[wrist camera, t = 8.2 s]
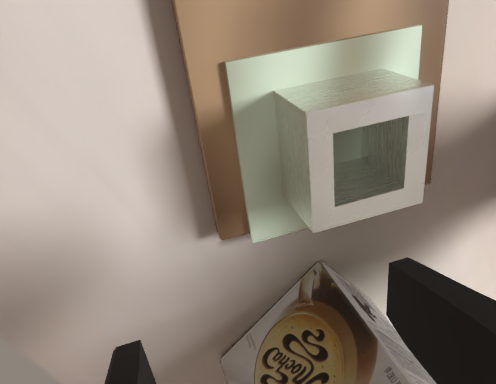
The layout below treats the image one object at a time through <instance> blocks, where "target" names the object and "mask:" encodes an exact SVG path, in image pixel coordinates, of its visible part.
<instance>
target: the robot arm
mask: <svg viewBox="0 0 496 384" xmlns="http://www.w3.org/2000/svg"><path fill="white" fill-rule="evenodd" d="M386 315H387V316H388V318H389V320H390V321H391V323H392V324H393V326H394V328H395V329H396V331H397V333H398V334H399V336H400V337H401V339H402V340H403V342H404V343H405V345H406V346H407V348H408V349H409V350H410V351H411V353H412V354H413V355H414V356H415V358H416V359H417V360H418V361H419V363H420V364H421V365H422V366H423V368H424V369H425V370H426V371H427V372H428V374H429V375H430V376H431V377H432V379H433V380H434V381H435V382H436V384H496V301H495V300H493V299H491V298H489V297H487V296H485V295H483V294H481V293H478V292H476V291H474V290H472V289H470V288H468V287H466V286H464V285H462V284H460V283H458V282H456V281H454V280H452V279H450V278H448V277H446V276H444V275H442V274H440V273H438V272H436V271H434V270H432V269H431V268H429V267H427V266H425V265H423V264H421V263H418V262H416V261H414V260H412V259H410V258H408V257H407V258H404V259H401V260H398V261H394V262H391V263H389V274H388V293H387V312H386ZM105 384H156V382H155V379H154V376H153V373H152V371H151V368H150V365H149V362H148V360H147V357H146V354H145V352H144V349H143V346H142V343H141V341H140V340H138V341H135V342H131V343H128V344H125V345H122V346H118V347H116V348H115V350H114V351H113V354H112V358H111V362H110V366H109V370H108V374H107V377H106V380H105Z"/></svg>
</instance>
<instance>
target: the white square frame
mask: <svg viewBox="0 0 496 384" xmlns="http://www.w3.org/2000/svg"><path fill="white" fill-rule="evenodd" d="M433 92H434V85H433V84H430V83H427V82H424V81H421V80H418V79H414V78H411V77H408V76H405V75H402V74H399V73H396V72H392V71H389V70H386V69H383V68H381V69H376V70H371V71H366V72H362V73H357V74H352V75H347V76H342V77H337V78H332V79H328V80H323V81H318V82H313V83H308V84H303V85H298V86H294V87H289V88H284V89H279V90H274V101H275V112H276V122H277V133H278V143H279V154H280V165H281V175H282V186H283V196H284V197H285V198H286V200H287V201H288V202H289V203H290V205H291V206H292V207H293V209H294V210H295V211H296V212H297V214H298V215H299V216H300V217H301V219H302V220H303V221H304V222H305V224H306V225H307V226H308V228H309V229H310V230H311V231H312V233H317V232H320V231H324V230H327V229H331V228H334V227H338V226H342V225H345V224H349V223H352V222H356V221H359V220H363V219H367V218H370V217H374V216H377V215H381V214H384V213H388V212H391V211H395V210H399V209H402V208H406V207H409V206H413V205H416V204H420V203H423V195H424V184H425V174H426V164H427V154H428V143H429V133H430V123H431V112H432V102H433ZM358 127H362V139H361V158H359V159H355V160H351V161H347V162H343V163H339V164H335V165H334V159H333V133H337V132H341V131H345V130H350V129H354V128H358Z"/></svg>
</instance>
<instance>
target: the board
mask: <svg viewBox="0 0 496 384" xmlns="http://www.w3.org/2000/svg"><path fill="white" fill-rule="evenodd" d="M172 4H173V9H174V14H175V20H176V25H177V30H178V35H179V40H180V45H181V50H182V55H183V60H184V65H185V70H186V75H187V80H188V85H189V91H190V96H191V101H192V106H193V111H194V116H195V121H196V126H197V131H198V136H199V141H200V146H201V151H202V156H203V162H204V167H205V172H206V177H207V182H208V187H209V192H210V197H211V202H212V207H213V212H214V217H215V222H216V227H217V231H218V234H219V236H220V238H221V240H224V239H228V238H232V237H235V236H239V235H243V234H246V233H250V237H251V241H252V243H257V242H261V241H264V240H268V239H271V238H275V237H279V236H282V235H286V234H289V233H293V232H297V231H300V230H304V229H307V228H308V226H307V225H306V224H305V222H304V221H303V220H302V219H301V217H300V216H299V215H298V214H297V212H296V211H295V210H294V209H293V207H292V206H291V205H290V203H289V202H288V201H287V200H286V198H285V197H284V196H283V186H282V175H281V165H280V154H279V143H278V133H277V122H276V112H275V101H274V90H279V89H284V88H289V87H294V86H298V85H303V84H308V83H313V82H318V81H323V80H328V79H332V78H337V77H342V76H347V75H352V74H357V73H362V72H366V71H371V70H376V69H381V68H383V69H386V70H389V71H392V72H396V73H399V74H402V75H405V76H408V77H411V78H414V79H418V80H421V81H424V82H427V83H430V84H433V85H434V92H433V102H432V112H431V123H430V133H429V143H428V154H427V164H426V174H425V184H424V185H426V184H429V183H430V180H431V170H432V160H433V150H434V141H435V131H436V121H437V111H438V102H439V92H440V82H441V73H442V63H443V53H444V43H445V34H446V24H447V14H448V4H449V0H172ZM361 139H362V127H358V128H354V129H350V130H345V131H341V132H337V133H333V159H334V165H335V164H339V163H343V162H347V161H351V160H355V159H359V158H361Z"/></svg>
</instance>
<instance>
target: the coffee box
mask: <svg viewBox="0 0 496 384" xmlns="http://www.w3.org/2000/svg"><path fill="white" fill-rule="evenodd" d="M220 362H221V365H222V369H223V372H224V375H225V378H226V382H227V384H436V382H435V381H434V380H433V379H432V377H431V376H430V375H429V374H428V372H427V371H426V370H425V369H424V368H423V366H422V365H421V364H420V363H419V361H418V360H417V359H416V358H415V356H414V355H413V354H412V353H411V351H410V350H409V349H408V348H407V346H406V345H405V343H404V342H403V340H402V339H401V337H400V336H399V334H398V333H397V331H396V330H395V329H394V327H393V326H392V325H391V324H390V322H389V321H388V320H387V319H386V317H385V316H384V315H383V314H382V312H381V311H380V310H379V309H378V308H377V306H376V305H375V304H374V303H373V302H372V301H371V300H370V299H369V298H368V297H366V296H365V295H364V294H362V293H361V292H360V291H359V290H358V289H356V288H355V287H354V286H353V285H351V284H350V283H349V282H348V281H346V280H345V279H344V278H343V277H341V276H340V275H339V274H338V273H336V272H335V271H334V270H332V269H331V268H330V267H329V266H327V265H326V264H325V263H324V262H317V263H316V264H315V265H314V266H313V267H312V268H311V269H310V270H309V271H308V272H307V273H306V274H305V275H304V276H303V277H302V278H301V279H300V280H299V281H298V282H297V283H296V284H295V285H294V286H293V287H292V288H291V289H290V290H289V291H288V292H287V293H286V294H285V295H284V296H283V297H282V298H281V299H280V300H279V301H278V302H277V303H276V304H275V305H274V306H273V307H272V308H271V309H270V310H269V311H268V312H267V313H266V314H265V315H264V316H263V317H262V318H261V319H260V320H259V321H258V322H257V323H256V324H255V325H254V326H253V327H252V328H251V329H250V330H249V331H248V332H247V333H246V334H245V335H244V336H243V337H242V338H241V339H240V340H239V341H238V342H237V343H236V344H235V345H234V346H233V347H232V348H231V349H230V350H229V351H228V352H227V353H226V354H225V355H224V356H223V357H222V358H221V361H220Z"/></svg>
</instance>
